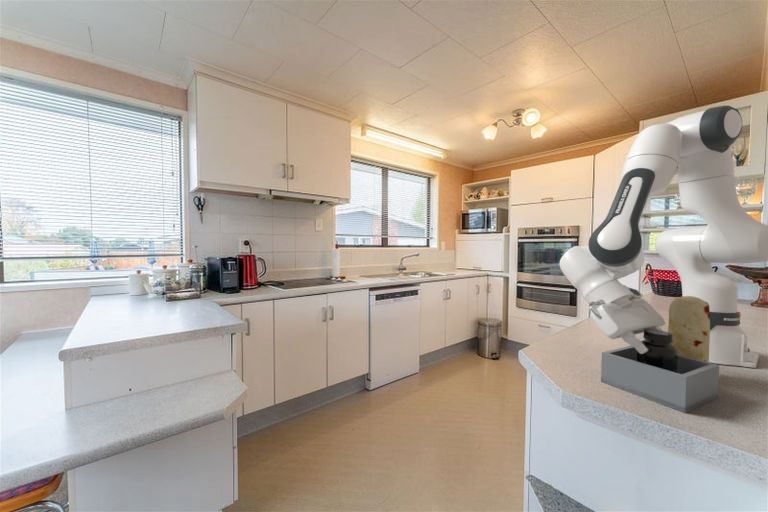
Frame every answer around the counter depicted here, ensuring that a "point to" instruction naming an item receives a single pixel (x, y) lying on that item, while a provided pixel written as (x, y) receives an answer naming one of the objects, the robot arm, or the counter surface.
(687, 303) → the food model
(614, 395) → the counter surface
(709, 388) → the bin
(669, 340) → the supplement bottle
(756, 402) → the counter surface
